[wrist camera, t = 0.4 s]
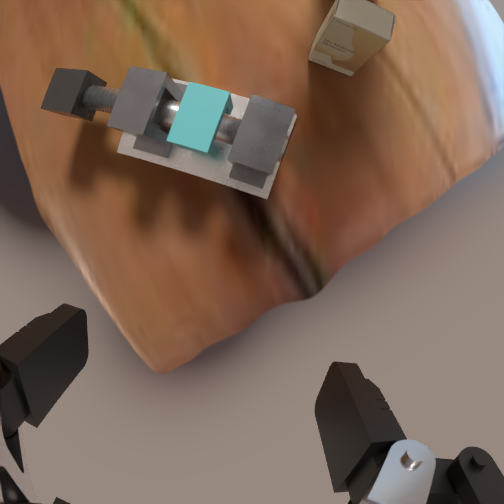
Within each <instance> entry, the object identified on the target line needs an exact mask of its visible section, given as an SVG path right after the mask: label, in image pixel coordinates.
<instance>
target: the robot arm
mask: <svg viewBox="0 0 504 504" xmlns="http://www.w3.org/2000/svg"><path fill="white" fill-rule="evenodd" d="M88 351H89V350H88V334H87V315H86V312H85V310H83V309H80V308H77V307H74V306H71V305H68V304H62V305H61V306H59V307H58V308H57V309H55V310H54V311H53V312H51V313H47V314H45V315H42V316H39V317H36V318H35V319H33V320H32V321H31V322H29V323H28V324H27V326H24V327H23V328H21V329H20V330H19V332H16V333H15V334H13V335H12V336H11V337H9V338H8V339H7V340H6V341H5V342H3V343H2V344H1V345H0V504H40V502H39V500H38V497H37V495H36V493H35V491H34V489H33V487H32V484H31V481H30V477H29V472H28V467H27V462H26V456H25V450H24V443H23V436H22V430H21V428H20V425H21V424H22V423H23V422H24V421H26V422H27V423H29V424H31V425H33V426H35V427H36V428H37V427H38V426H39V424H40V423H41V422H42V420H43V419H44V418H45V416H46V415H47V414H48V412H49V411H50V410H51V408H52V407H53V405H54V404H55V403H56V402H57V400H58V399H59V398H60V397H61V395H62V394H63V392H64V391H65V390H66V389H67V388H68V386H69V385H70V384H71V382H72V381H73V380H74V379H75V377H76V376H77V375H78V373H79V372H80V371H81V370H82V369H83V367H84V366H85V364H86V361H87V358H88ZM315 417H316V421H317V425H318V428H319V432H320V437H321V441H322V445H323V448H324V453H325V456H326V461H327V465H328V469H329V473H330V477H331V481H332V485H333V489H334V492H348V491H349V495H350V498H349V499H348V500H347V502H346V503H345V504H504V476H503V475H502V473H501V471H500V470H499V468H498V467H497V465H496V463H495V462H494V460H493V458H492V457H491V456H490V455H489V454H488V453H487V452H486V451H484V450H482V449H481V448H478V447H467V448H465V449H464V450H462V451H461V452H460V454H459V455H458V456H457V457H456V458H455V460H452V459H440V458H435V456H434V454H433V453H432V451H431V450H430V449H429V448H428V447H426V446H425V445H423V444H422V443H420V442H417V441H414V440H407V438H406V437H405V435H404V433H403V431H402V429H401V427H400V425H399V423H398V422H397V420H396V418H395V416H394V415H393V412H392V411H391V410H390V407H389V405H388V403H387V402H386V401H385V398H384V396H383V394H382V393H381V391H380V389H379V388H378V387H377V386H376V385H374V384H373V383H372V382H371V381H370V380H369V379H365V378H364V376H363V374H362V372H361V370H360V368H359V366H358V365H357V364H355V363H343V362H333V363H332V364H331V366H330V368H329V370H328V372H327V375H326V377H325V380H324V382H323V385H322V387H321V389H320V392H319V394H318V396H317V400H316V404H315ZM53 504H70V503H67V502H66V501H64V500H61V499H59V498H57V497H56V499H55V501H54V503H53Z"/></svg>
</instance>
